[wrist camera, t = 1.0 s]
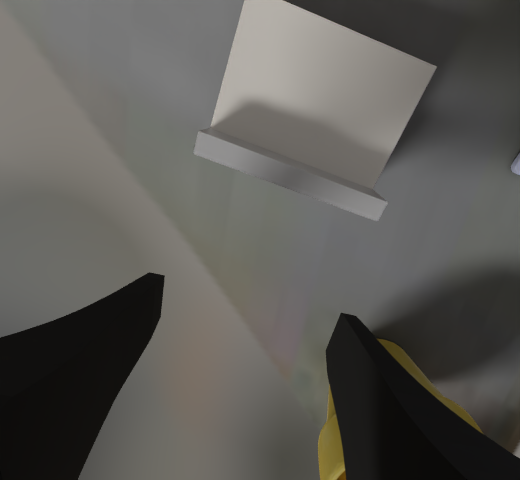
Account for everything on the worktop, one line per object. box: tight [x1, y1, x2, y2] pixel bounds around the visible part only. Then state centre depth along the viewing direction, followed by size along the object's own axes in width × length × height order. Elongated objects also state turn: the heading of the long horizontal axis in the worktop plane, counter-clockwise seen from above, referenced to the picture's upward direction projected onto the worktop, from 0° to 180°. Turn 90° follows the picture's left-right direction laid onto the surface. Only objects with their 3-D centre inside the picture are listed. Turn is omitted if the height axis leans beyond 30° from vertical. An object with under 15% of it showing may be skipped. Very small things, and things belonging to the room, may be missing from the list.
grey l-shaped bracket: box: [193, 0, 437, 222], centre depth 15 cm, size 9×7×6 cm
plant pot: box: [318, 339, 483, 480], centre depth 21 cm, size 10×10×10 cm
